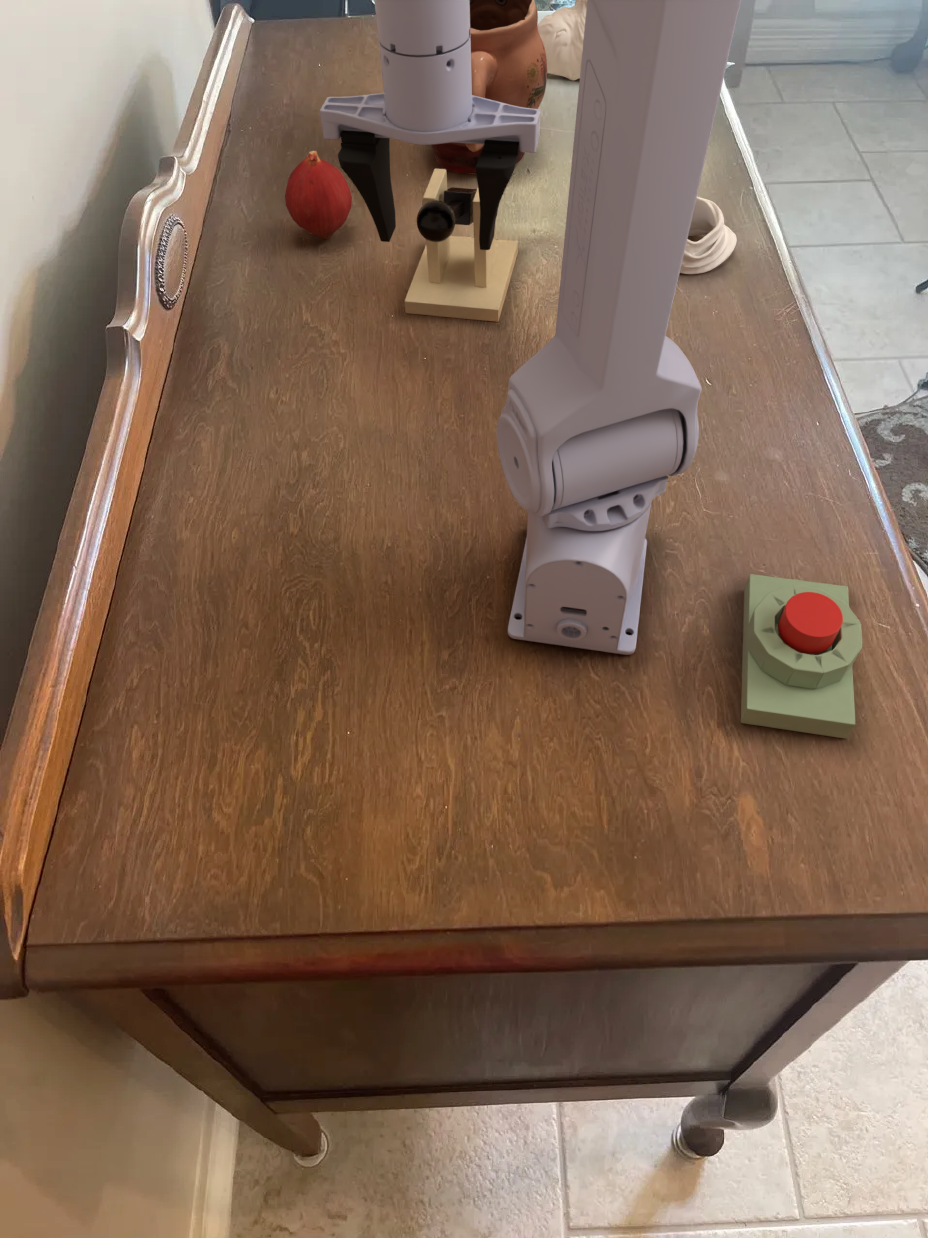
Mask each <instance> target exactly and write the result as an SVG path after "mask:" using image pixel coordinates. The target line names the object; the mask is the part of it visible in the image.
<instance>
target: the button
mask: <svg viewBox="0 0 928 1238" xmlns="http://www.w3.org/2000/svg"><path fill="white" fill-rule="evenodd" d="M842 623H843V615H842V612H841V610H840V608H839V606H838V605H837V604H836V603H835V602H834V601H833V600H832V599H830V598H828V597H827V596H825V595H822V594H819V593H815V592H803V593H799V594H796V595H794V596H793V597H791V598H790V599H789V600H788V602H787V604H786V606H785V608H784V611H783V613H782V615H781V618H780V620H779V623H778V631H779V634H780V637H781V638H782V640H783V641H784V642H785V643H786V644H787V645H788V646H789V647H791V648H792V649H794V650H796V651H798V652H802V653H806V654H816V653H820V652H823V651H825V650H827V649H828V648H829V647H830V646H831V645H832V643H833V641H834V640H835V638H836V636H837V634H838V632H839V630H840V628H841V626H842Z"/></svg>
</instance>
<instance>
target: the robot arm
mask: <svg viewBox="0 0 928 1238" xmlns="http://www.w3.org/2000/svg"><path fill="white" fill-rule="evenodd" d="M741 3H742V0H587V9H586V19H585V30H584V40H583V51H582V61H581V71H580V79H579V82H578V83H579V84H578V93H577V102H576V103H577V104H576V114H575V126H574V135H573V146H572V155H571V165H570V166H571V168H570V178H569V186H568V187H569V188H568V197H567V198H568V199H567V207H566V208H567V210H566V220H565V230H564V239H563V250H562V261H561V271H560V282H559V291H558V303H557V313H556V324H555V333H554V335H553V337H552V338H550V340H549V341H548V342H546V344H545V345H543V346H542V347H541V348H540V349H539V350H537V352H535V354H533V355H532V356H531V357H530V358H529V359H527V361H525V362H524V363H523V364H522V365H521V366H519V368H517V370H516V371H515V372H514V373H513V374H511V376H510V377H509V378H508V391H507V393H506V400H505V405H504V406H503V407H502V409H501V412H500V416H499V418H498V419H497V422H496V428H495V429H496V432H495V434H496V445H497V452H498V457H499V461H500V465H501V469H502V472H503V475H504V478H505V481H506V484H507V486H508V489H509V491H510V493H511V495H512V496H513V498H514V501H516V503H517V504H518V505H519V506H520V507H521V509H523V510H524V511H526V512H527V524H526V538H525V544H524V548H523V553H522V558H521V563H520V568H519V572H518V577H517V581H516V587H515V591H514V596H513V601H512V607H511V611H510V616H509V620H508V625H507V635H508V637H510V639H513V640H519V641H526V642H527V641H528V642H535V643H540V644H541V643H542V644H547V645H555V646H563V647H569V648H577V649H583V650H590V651H597V652H604V653H610V654H611V653H612V654H619V655H625V656H628V655H629V656H630V655H633V654H634V653H635V651H636V648H637V640H638V631H639V621H640V612H641V604H642V603H641V602H642V594H643V584H644V576H645V575H644V574H645V565H646V558H647V557H646V556H647V546H648V540H647V538H646V534H647V529H648V524H649V519H650V513H651V509H652V503H653V501H654V499H655V498H657V497H658V496H660V495H663V494H665V493H666V490H667V486H668V481H669V477H673V476H677V475H682V474H684V473H685V472H687V471H688V470H689V469H690V467H691V466H692V464H693V462H694V459H695V455H696V453H697V450H698V445H699V438H700V429H699V426H700V425H699V418H698V417H699V416H698V409H699V407H698V405H699V400H700V397H701V393H702V389H703V388H702V385H701V383H700V380H699V378H698V377H697V374H696V372H695V370H694V369H695V368H693V365H692V363H691V362H690V361H689V359H688V357H687V356H686V354H685V353H684V352H683V350H682V349H681V348H680V347H679V346H678V344H677V343H676V342H674V341H673V340H672V339H671V338H670V337H668V336H667V330H668V327H669V322H670V318H671V317H670V316H671V312H672V308H673V304H674V299H675V295H676V290H677V287H678V286H677V285H678V282H679V277H680V274H681V273H680V269H681V265H682V260H683V256H684V251H685V247H686V243H687V239H689V236H688V234H689V229H690V225H691V220H692V216H693V212H694V207H695V203H696V198H697V197H698V194H699V189H700V185H701V181H702V177H703V176H702V175H703V172H704V167H705V163H706V158H707V153H708V149H709V144H710V142H711V141H710V140H711V136H712V131H713V127H714V122H715V118H716V114H717V109H718V105H719V101H720V96H721V91H722V86H723V83H724V78H725V75H726V70H727V65H728V62H729V61H728V60H729V56H730V52H731V47H732V42H733V38H734V34H735V30H736V25H737V20H738V16H739V11H740V7H741ZM374 11H375V19H376V20H375V21H376V30H377V40H378V50H379V59H380V70H381V78H382V79H381V80H382V88H383V92H379V93H371V94H369V93H368V94H362V95H351V96H327V97H326V98H325V100H324V102H323V104H322V106H321V107H320V109H319V115H320V116H319V117H320V122H321V129H322V134H323V135H322V136H323V139H324V140H333V141H336V140H341V142H340V150H339V152H338V154H337V159H338V164H339V166H340V169H341V170H342V171H343V172H344V173H345V174H346V175H347V177H348V178H349V180H350V181H351V182H352V183H353V185H354V187H355V188H356V189H357V191H358V193H359V195H360V196H361V197H362V200H363V201H364V203H365V205H366V207H367V209H368V211H369V213H370V215H371V218H372V220H373V223H374V226H375V228H376V230H377V234H378V237H379V240H380V242H384V243H390V241H391V240H392V237H393V235H394V232H395V230H396V227H397V223H396V219H397V218H396V217H397V216H396V207H395V200H394V193H393V185H392V177H391V144H390V143H391V141H390V140H391V139H393V140H395V141H400V142H403V143H408V144H412V145H421V146H432V144H442V143H451V142H453V143H468V144H483V145H484V147H483V150H482V152H481V154H480V156H479V159H478V162H477V165H476V174H475V176H476V182H477V188H478V190H479V200H480V230H479V244H480V250H490V247H491V244H492V241H493V238H494V230H495V226H496V222H497V217H498V213H497V211H498V212H499V208H500V207H499V206H500V203H501V200H502V198H503V195H504V193H505V191H506V189H507V186H508V185H509V183H510V181H511V179H512V176H513V174H514V171H515V169H516V166H517V164H516V163H517V160H518V157H519V153H520V151H521V152H525V154H526V153H527V154H535V153H536V152H537V148H538V145H539V142H540V138H541V137H540V134H541V109H540V108H538V109H532V108H524V107H518V106H513V105H509V104H505V103H501V102H498V101H494V100H490V99H486V98H482V97H478V96H474V95H472V74H471V36H470V0H374ZM496 216H497V217H496ZM516 618H520V619H516ZM627 633H631V634H630V635H629V634H627Z"/></svg>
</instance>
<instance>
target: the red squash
mask: <svg viewBox="0 0 928 1238" xmlns="http://www.w3.org/2000/svg"><path fill="white" fill-rule="evenodd" d="M284 200H285V206H286V209H287V211H288V213H289V216H290V217H291V219H292V220H293V221H294V223H295V224H296V225H297V226H298V227H299V228H301V229H303V230H304V231H305V232H307V233H309V234H311V235H313V236H315V237H318V238H320V239H323V240H327V239H330V238H331V237H332V236H333V235H334V234H335V233H336V232H337V231H338V230H340V229H341V227H342V226H343V225H344V224H345V222H347V220H348V217H349V214H350V212H351V210H352V203H353V197H352V193H351V189H350V186H349V184H348V181H347V180H346V176H344V174H343V173H342V172H341V171H340V170H339V169H338V168H337V167H336V166H334V165H333V164H332V163H331V162H329V161H327V160H324V159H323V158H320V157H319V155H318V152H317V150H311V151H308V154H307V155H306V156H305V157H304V159H302V160H300V162H299V163H298V164H297V165H296V166H295V167H294V168H293V169H292V171H291V172H290V174H289V176H288V179H287V182H286V188H285V192H284Z"/></svg>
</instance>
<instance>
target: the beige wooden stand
mask: <svg viewBox="0 0 928 1238" xmlns="http://www.w3.org/2000/svg"><path fill="white" fill-rule="evenodd" d="M447 189H448V177H447V170H446V169H444V168H434V169H433V172H432V174H431V177H430V179H429V181H428V184H427V186H426V189H425V191H424V194H423V196H422V200H421V201H422V203H421V207H422V206H423V205H424V204H426V203H427V202H429V201H434V200H438V201H442V202H444V191H445V190H447ZM476 189H477V191H476V194H475V197H474V200H473V223H472V225H473V236H462V235H461V236H460V235H450V236H449V237H448V238H447V239H446V240H444V241H442V242H431V241H428V240H426V239H425V246H424V249H423V251H422V254H421V256H420V259H419V262H418V264H417V267H416V270H415V272H414V274H413V278H412V280H411V282H410V285H409V288H408V291H407V293H406V296H405V298H404V301H403V303H404V310H405V314H410V315H411V314H412V315H421V316H430V317H431V316H434V317H443V318H453V319H454V318H455V319H464V320H465V319H466V320H475V321H486V322H497V323H498V322H500V318H501V315H502V311H503V307H504V305H505V302H506V301H505V300H506V297H507V293H508V289H509V286H510V282H511V279H512V276H513V271H514V268H515V264H516V262H517V261H516V260H517V257H518V254H519V241H518V240H512V239H511V240H510V239H499V238H498V239H497V237H496V236H497V235H496V234H497V233H496V225H495V230H494V238H493V241H492V244H491V247H490V250H480V244H479V230H480V200H479V190H478V187H477V188H476ZM498 213H499V210H498V211H497V214H498ZM497 217H498V215H497V216H496V218H497Z"/></svg>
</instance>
